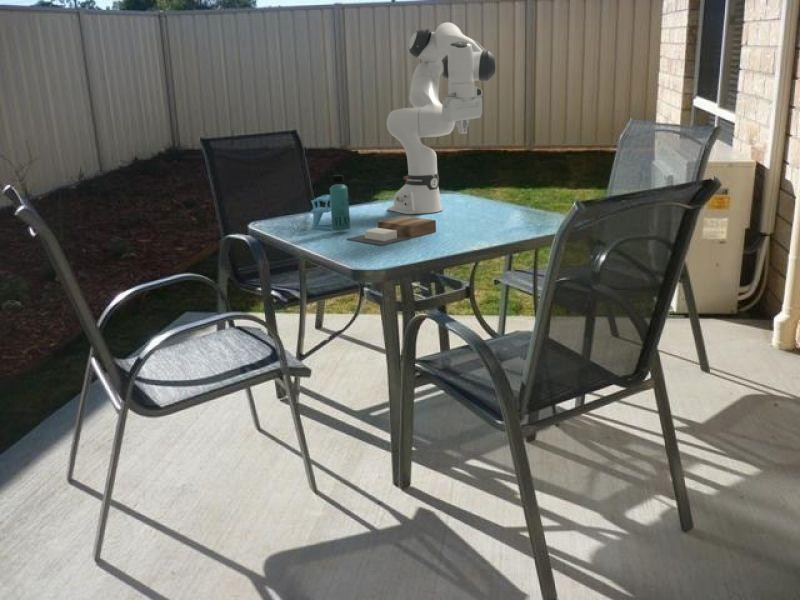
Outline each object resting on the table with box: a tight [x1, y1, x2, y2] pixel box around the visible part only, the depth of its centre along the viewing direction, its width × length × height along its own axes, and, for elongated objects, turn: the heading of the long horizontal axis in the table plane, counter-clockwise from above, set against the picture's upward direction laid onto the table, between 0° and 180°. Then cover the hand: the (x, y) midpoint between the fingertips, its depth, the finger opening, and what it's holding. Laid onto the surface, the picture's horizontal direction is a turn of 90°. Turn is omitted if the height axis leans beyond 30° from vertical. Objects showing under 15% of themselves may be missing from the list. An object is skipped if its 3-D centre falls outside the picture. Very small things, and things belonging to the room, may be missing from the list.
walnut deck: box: [376, 215, 437, 239], centre depth 280 cm, size 16×12×4 cm
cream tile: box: [364, 227, 397, 241], centre depth 272 cm, size 9×6×2 cm, turn 47°
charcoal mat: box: [346, 233, 412, 247], centre depth 272 cm, size 17×13×1 cm
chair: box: [310, 194, 334, 231], centre depth 293 cm, size 8×8×12 cm
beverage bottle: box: [329, 174, 351, 231], centre depth 283 cm, size 6×7×20 cm
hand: (462, 133), depth 283 cm, fingers closed
